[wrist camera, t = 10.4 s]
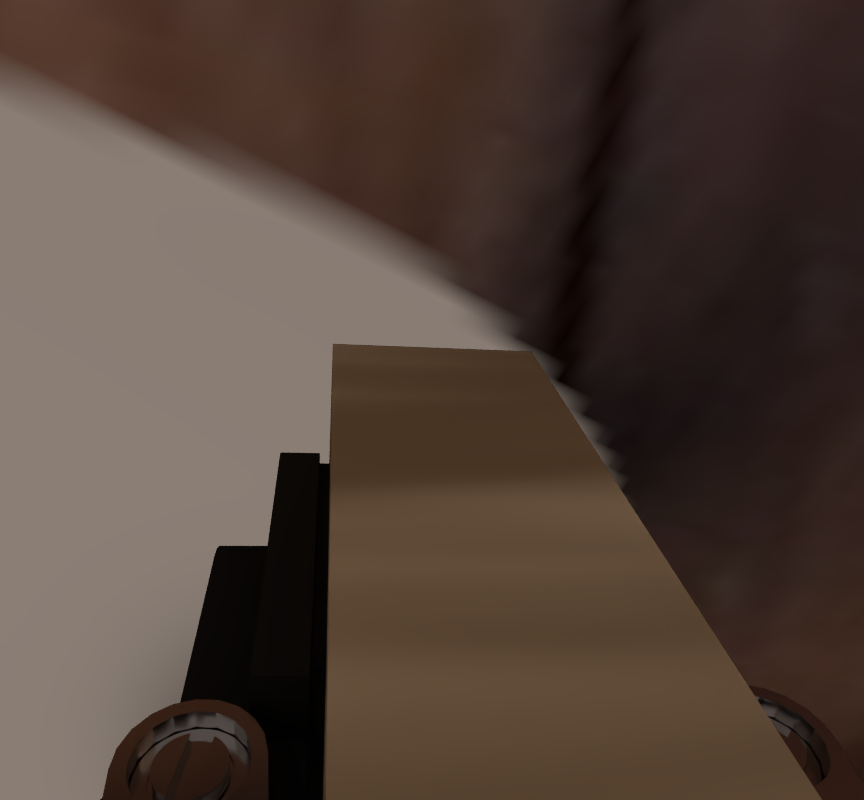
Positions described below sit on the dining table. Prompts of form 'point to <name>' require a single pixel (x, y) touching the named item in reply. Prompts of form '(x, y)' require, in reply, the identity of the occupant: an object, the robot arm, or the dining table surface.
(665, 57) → the dining table surface
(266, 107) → the dining table surface
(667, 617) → the wooden mallet
